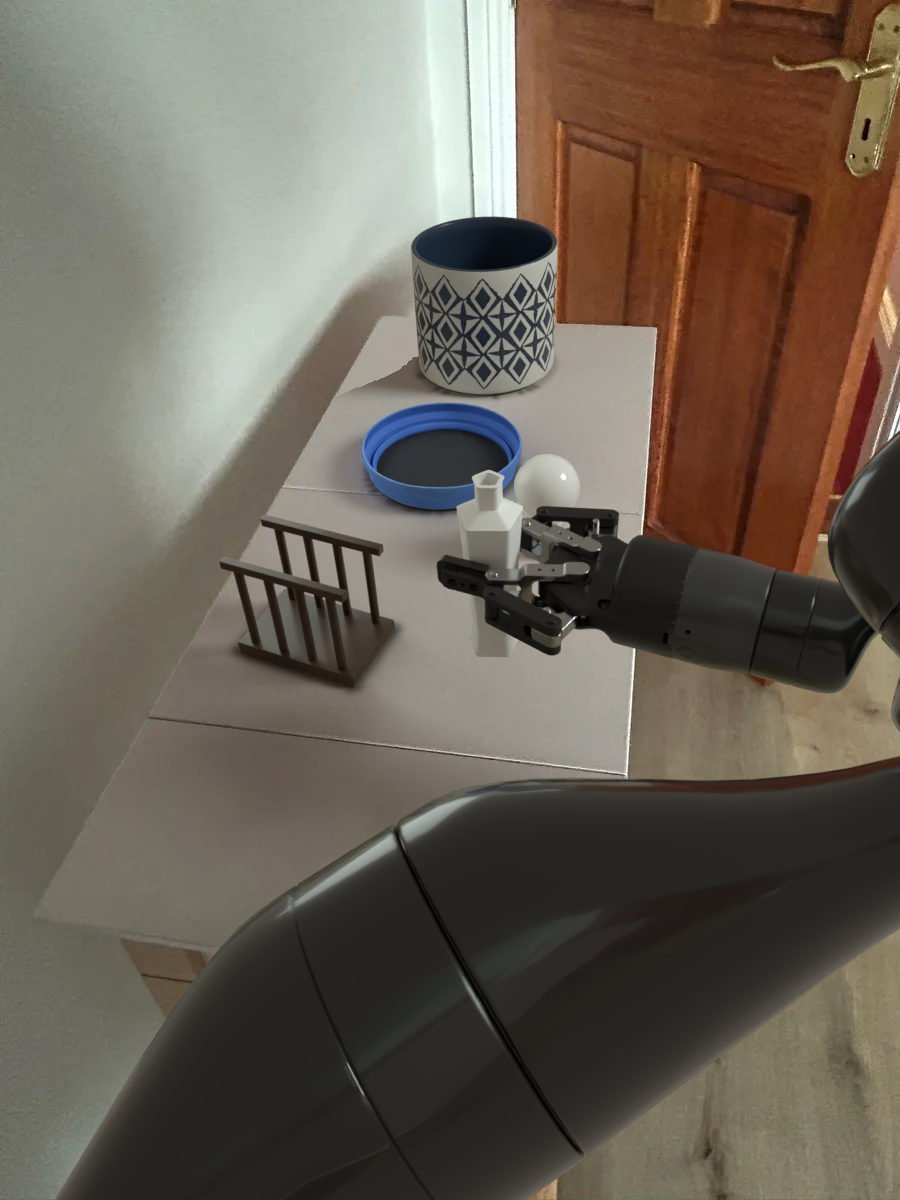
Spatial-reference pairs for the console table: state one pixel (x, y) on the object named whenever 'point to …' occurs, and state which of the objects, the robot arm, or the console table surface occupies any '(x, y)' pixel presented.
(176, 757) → the console table surface
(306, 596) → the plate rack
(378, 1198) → the robot arm
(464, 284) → the planter
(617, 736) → the console table surface
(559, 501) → the lightbulb
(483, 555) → the perfume bottle
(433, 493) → the bowl
